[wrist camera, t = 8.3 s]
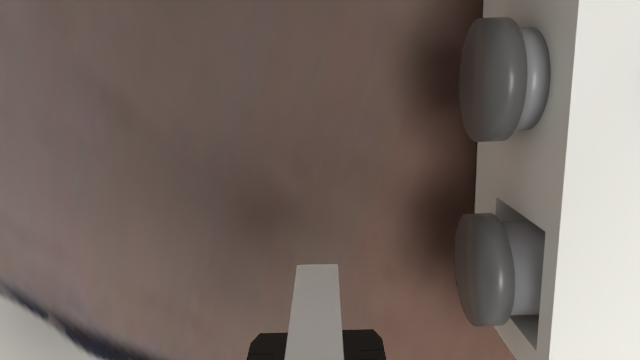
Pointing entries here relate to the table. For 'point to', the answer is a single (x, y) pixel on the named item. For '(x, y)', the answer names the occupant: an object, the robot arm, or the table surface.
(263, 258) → the table surface
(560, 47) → the white knob control box
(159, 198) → the table surface
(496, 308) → the knob
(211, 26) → the table surface
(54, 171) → the table surface
